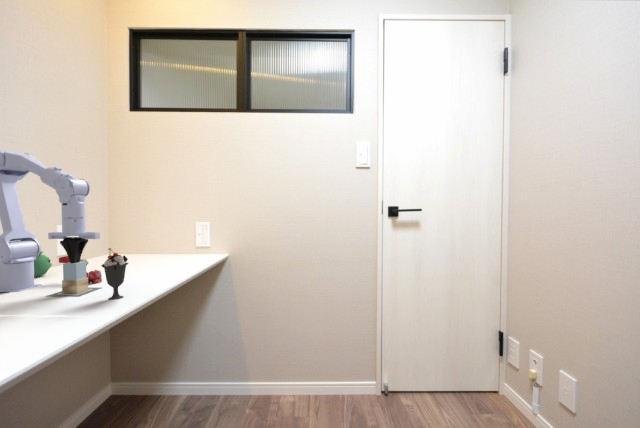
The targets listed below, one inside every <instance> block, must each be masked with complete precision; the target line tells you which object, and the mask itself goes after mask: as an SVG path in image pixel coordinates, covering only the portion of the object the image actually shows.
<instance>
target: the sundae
mask: <svg viewBox="0 0 640 428" xmlns="http://www.w3.org/2000/svg"><path fill="white" fill-rule="evenodd" d="M108 250H109V251H110V252H111V251H112V253H113V254H112V255H111V253H109V255H108V256H107V259H106V260H105V262H104V263H102V264H101V265H100V266H101V267H102V268H104V274H105V279H106V284H107V285H109V286H110V287H111V288H112V289H113V291H112V292H113V293H112V295H111V296H110V297H108V298H107V300H108V301H114V300H121V299H123V298H124V295H121V294H120V293H119V287H120V286H121V285H122V284H123V283H124V281H125V276H126V268H127V265H129V262H127V261H128V260H129V259H128V257H127V256H126V255H121V254H118V252H114V251H113V250H112V247H111V248H108Z"/></svg>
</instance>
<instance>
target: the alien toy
mask: <svg viewBox="0 0 640 428" xmlns="http://www.w3.org/2000/svg"><path fill="white" fill-rule="evenodd" d="M43 253H44V252H43V250H41V251H40V254H39V255H38V256H37V257H36V260H34V278H39V277H42V276H45V275H46V274H47V273H48V271H49V270H50V268H51V267H52V265H53V264H52V263H51V259H50V257H48V256H47V255H45V254H43Z"/></svg>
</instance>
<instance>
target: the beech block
mask: <svg viewBox="0 0 640 428" xmlns="http://www.w3.org/2000/svg"><path fill="white" fill-rule="evenodd" d="M61 286H62V287H61V288H62V289H61V291H62V294H78V293H81V292H84V291H86V290H88V288H89V284H88V277H86V278H83V279H80V280H62V281H61Z"/></svg>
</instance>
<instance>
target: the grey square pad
mask: <svg viewBox="0 0 640 428" xmlns="http://www.w3.org/2000/svg"><path fill="white" fill-rule="evenodd" d="M101 289H102V287H88V290H86V291H84V292H81V293H78V294H62V290H61V291H57V292H55V293H52V294H49V295H46V296H45V298H46V297H55V298H56V297H60V298H61V297H67V298H68V297H69V298H70V297H71V298H75V297H77V298H79V297H82V296H85V295H88V294H91V293H93V292H95V291H96V292H97V291H98V290H101Z"/></svg>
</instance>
